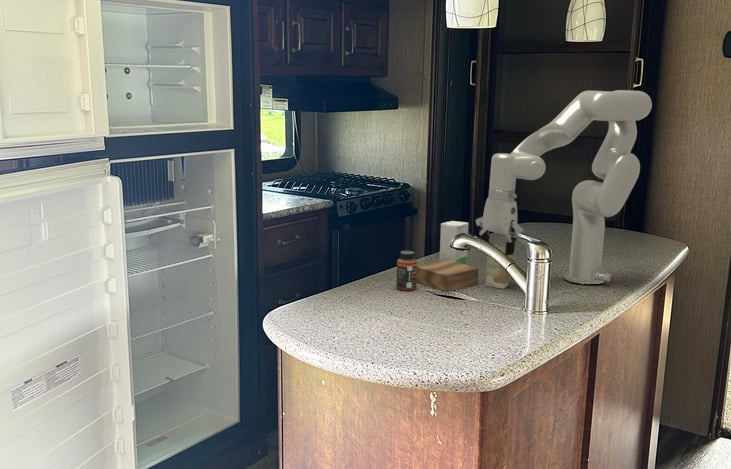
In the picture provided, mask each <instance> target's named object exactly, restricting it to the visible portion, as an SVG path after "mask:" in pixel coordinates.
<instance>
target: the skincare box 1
mask: <svg viewBox="0 0 731 469" xmlns="http://www.w3.org/2000/svg"><path fill="white" fill-rule="evenodd" d="M469 225H470V224H469V222H465V221H455V220H451V221H446V222H442V223H441V222H440V238H439V239H440V241H439V242H440V243H439V246H440V247H439V260H444V259H447V260H450V261H454V262H458V263H461V264H465V265H468V250H464V251H460V250H456V249H453V248H451V247H450V242H451V240H452V239H453V238H454V237H455V236H456V235H458V234H461V233H466V234H468V235H469Z"/></svg>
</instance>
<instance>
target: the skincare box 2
mask: <svg viewBox="0 0 731 469" xmlns="http://www.w3.org/2000/svg"><path fill="white" fill-rule="evenodd" d="M492 245H493V246H495V247H497V248H498V249H500V250H501V251H502V252H503V253H505V251H506V246H503V245H496V244H495V245H494V244H492ZM507 256H508V257H509V258H510V259H511V256H512V255H507ZM509 278H510V274H509V275H508V273H507V272H506V271H505V270H504V269H503V268H502V267H501V266H500V265H499V264H498V263H496V262H495V261H494V260H493V259H491V258H490V257H488V256H487V258H486V271H485V280H484V282H485V283H484V285H485V286H486V287H490V288H491V287H492V288H497V289H502V290H504V289H506V288H507V287H508V286H509V280H510V279H509Z"/></svg>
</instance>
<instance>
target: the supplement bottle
mask: <svg viewBox="0 0 731 469" xmlns="http://www.w3.org/2000/svg"><path fill="white" fill-rule="evenodd" d="M417 265H418V260H417V259H416V258H415V252H414V251H412V250H401V251H400V257H399V258H398V259H397V260H396V282H395V283H396V289H398V290H400V291H404V292H405V291H407V292H409V291H410V292H411V291H415V290H416V288H417V283H416V275H417Z"/></svg>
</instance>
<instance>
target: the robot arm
mask: <svg viewBox="0 0 731 469" xmlns="http://www.w3.org/2000/svg"><path fill="white" fill-rule="evenodd" d="M652 107H653V103H652V99H651V97H650V95H648V94H647V93H646V92H644V91H642V90H641V91H640V90H629V89H628V90H627V89H624V90H623V89H620V90H613V91H604V90H584V91H582V92H581V93H579V94H578V95H577V96H575V97H574V98H573V99H572V100H571V101H570V102H569V103H568V104H567V106H565V107H564V108H563V110H562V111H561V112H560V113H558V115H557V116H555V118H553V120H552V121H550V122H549V123H547V124H546V125H545V126H543V127H541V128H539V129H538V130H536V131H534V132H533V133H531V134H530V135H528V136H527V137H526V138H525V139H523V141H522V142H520V143H519V144H518V145H516V147H515V148H514V149H513V151H512V152H510V153H506V152H505V153H504V152H503V153H501V152H500V153H499V152H498V153H495V154H493V155H492V157H491V164H490V174H489V175H490V176H489V187H488V188H489V189H488V197H487V199H486V201H485V203H484V204H485V205H484V208H483V209H484V210H483V216H481V217H478V218H476V219H475V223H476V226H477V227H476V228H477V230H478V232H479V236H480V240H481V239H483V240H485V241H487V242H488V243H489V244H490V234H489V233H490V232H491V233H494V234H499V235H503V236H505V238H506V239H507V242H506V243H505V247H506V251H505V254H506V255H511V256H513V255H514V253H515V247H516V245H515V244H516V242H518V240H519V239H516V238H514V237H512V236H511V234H516V233H518V234H521V235H522V234H523V232H524V228H523V227H522V226H520V225H519V224H518V206H517V201H516V200H515V199H517V197H518V196H517V193H515V192H516V191H515V190H516V184H517V183H516V182H517V181H516V180H517V179H521V180H527V181H535V180H537V179H540V178H541V177H542V176H543V175H544V174H545V172H546V168H547V167H546V163H545V161H544V159H543V158H542V157H540V156H542V155H544V154H545V153H546V152H549V151H551V150H554V149H556V148H560V147H561V148H562V147H564V146H566V145H569V144H570V143H572V142H573V141H575V139H576V138H577V137H578V136H579V135H580V134H581V133H583V131H584V130H585V129H586V128H587V127H588V126H589V125H590V124H591V123H592V122H593V121H602V122H608V130H607V134H606V136H605V138H604V140H603V142H602V144H601V146H600V147H599V150H598V151H597V153H596V155H595V157H594V159H593V162H592V164H591V172H592V173H593V175H594V176H596V177H597V178H598V179H602V180H603V182H600V181H598V180H597V181H596V180H591V179H588V180H584V181H580V182H579V183H577V185H576V186H575V187H574V188H573V191H572V196H571V202H572V203H571V204H572V213H573V214H572V218H573V219H572V233H571V242H570V243H571V244H570V246H571V247H570V255H569V258H570V259H569V271H568V272H569V276H571V277H572V278H576V279H582V280H593V281H594V280H600V279H601V280H604V281H605V282H610V281H611V279H612V274H611V273H606V272H605V267H602V261H603V253H604V252H603V250H604V241H605V240H604V238H605V229H606V228H605V227H606V221H605V218H610V217H613V216H615V215H617V214H618V213H619V212H620V211H621V210H622V208H623V207H624V205H625V203H626V202H627V200H628V198H629V196H630V194H631V192H632V190H633V188H634V186H635V184H636V182H637V180H638V178H639V177H640V176H639V175H640V172H641V171H640V170H641V164H640V160H639V159H638V157H637V156H636V155H635V154H634V153H631V152H632V150H633V147H634V145H635V142H636V140H637V135H638V129H637V123H636V121H640V120H642V119H644V118H646V117H648V115H649V114H650V112H651V110H652Z"/></svg>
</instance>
